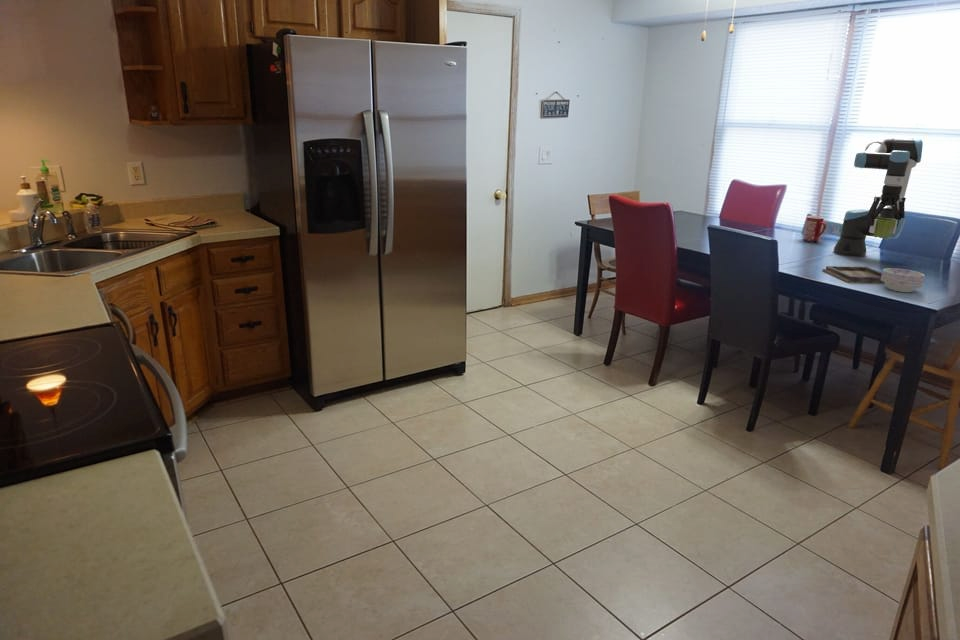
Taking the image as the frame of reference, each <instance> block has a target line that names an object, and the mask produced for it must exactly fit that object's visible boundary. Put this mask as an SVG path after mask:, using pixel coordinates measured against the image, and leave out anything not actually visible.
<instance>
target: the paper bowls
mask: <svg viewBox="0 0 960 640" xmlns="http://www.w3.org/2000/svg"><path fill="white" fill-rule="evenodd" d="M881 273H882V276H881V281H883V282H884V283H883V284H884V286H885V288H887V289H888V290H891V291H893V292H899V293H913V292H914V291H916V289H917V288H921V287H923V285H924V280H925V277H926V276H925V274H924V273H922V272H919V271H916V270H911V269H905V268H896V267H895V268H894V267H892V268H891V267H887V268H886V267H884V268H883V269H882V272H881Z"/></svg>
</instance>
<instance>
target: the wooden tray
mask: <svg viewBox="0 0 960 640" xmlns="http://www.w3.org/2000/svg"><path fill="white" fill-rule="evenodd" d="M821 271H822V272H823V273H826V274H828V275H830V276H832V277H835V278H837V279H839V280H841V281H843V282H845V283H849V282H855V284H856V282H860V283H859V284H885V283H884V282H883V281H881V276H882V272H880V271H878V270H875V269H873V268H871V267H869V266H853V265H852V266H850V265H848V266H847V265H845V266H844V265H826V266H825V268H822V270H821Z"/></svg>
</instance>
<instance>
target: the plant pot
mask: <svg viewBox="0 0 960 640" xmlns="http://www.w3.org/2000/svg"><path fill="white" fill-rule="evenodd" d="M876 219H877V222H876V227H875V231H874V238H880V239H886V238H888V237H889V235H890V232H891V230H892V227H893V225H894V224H895V222H896V221H897V220H894V219H889V218H876ZM888 239H889V238H888Z"/></svg>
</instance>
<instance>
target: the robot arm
mask: <svg viewBox="0 0 960 640" xmlns="http://www.w3.org/2000/svg"><path fill="white" fill-rule="evenodd" d="M923 145H924V144H923V140H922V139H920V138H913V137H912V138H906V137H905V138H903V137H900V138H899V137H881V138H879V139H875V140H873V141H871V142H869V144H867V145H866V147H865V149H864V151H857V152H856V155H855V158H854V163H853V167H855V168H857V169H858V168H859V169H870V170H871V169H872V170H883V171H884V170H886V174H885V176H884V182H883V185H882V190H881V195H880V196H874V197H873V202H872V204H871V206H870V208H869V209H850V210H847V211H846V212H845V214H844V218H843V219H842V220H843V222H842V226H841V231H840V236H839V239H838V240H837V242H836V243H835V245H834V248H833V251H832V252H833V253H834V254H837V255H840V256H846V257H852V258H853V257H855V258H856V257H857V258H859V257H861V258H863V257H866V255H867V247H866V246H867V244H866V238H867V237H874V231H875V227H876V222H877V219H876V218H889V219H894V220H897V221H896V222H895V224H894V225H893V227H892V230H891V232H890V235H889V237H888V238H885V239H892V240H895V239H897V238H899V236H900V234H901V233H902V231H903V229H904V225H905V223H906V219H907V217H906V216H905V203H906V197H905V196H906V193H907V188H908V184H909V180H910V177H911V173H912V169H914V167H916V166H917V164H919V163H921V160H922V155H923V154H922V153H923V147H924V146H923ZM874 238H875V237H874Z"/></svg>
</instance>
